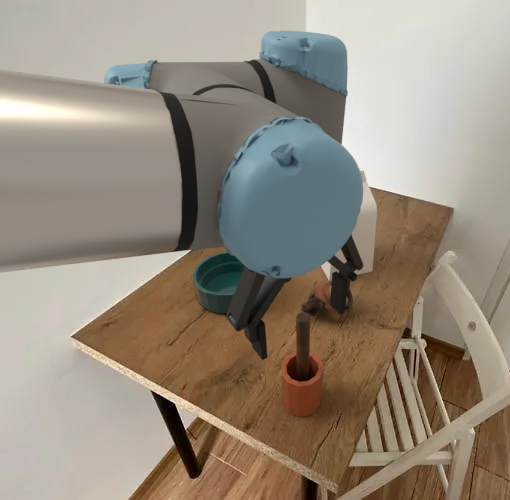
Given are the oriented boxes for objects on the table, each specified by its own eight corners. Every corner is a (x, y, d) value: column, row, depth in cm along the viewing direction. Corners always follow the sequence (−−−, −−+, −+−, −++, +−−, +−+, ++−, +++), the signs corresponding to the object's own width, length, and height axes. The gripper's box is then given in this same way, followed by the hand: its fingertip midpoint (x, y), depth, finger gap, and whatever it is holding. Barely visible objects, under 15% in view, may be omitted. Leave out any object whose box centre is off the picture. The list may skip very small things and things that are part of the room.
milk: (329, 280, 88) (335, 185, 72) (314, 254, 96) (316, 163, 81) (372, 271, 92) (386, 178, 76) (354, 246, 100) (363, 158, 85)
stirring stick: (301, 404, 61) (301, 324, 49) (294, 395, 62) (293, 316, 50) (310, 397, 62) (313, 318, 50) (303, 389, 63) (304, 309, 51)
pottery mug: (322, 289, 86) (341, 271, 81) (343, 323, 83) (364, 305, 78) (284, 304, 77) (303, 284, 72) (307, 342, 74) (328, 324, 69)
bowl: (215, 326, 74) (211, 305, 70) (186, 286, 83) (181, 266, 79) (278, 295, 82) (277, 276, 79) (246, 262, 91) (244, 243, 88)
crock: (297, 424, 58) (297, 393, 53) (275, 395, 62) (273, 364, 57) (328, 401, 62) (331, 370, 57) (306, 375, 66) (306, 344, 61)
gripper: (362, 163, 48) (348, 281, 60) (174, 214, 34) (206, 354, 46) (404, 184, 43) (379, 307, 56) (208, 252, 30) (233, 396, 42)
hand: (301, 329), depth 51 cm, fingers open, 13 cm apart
